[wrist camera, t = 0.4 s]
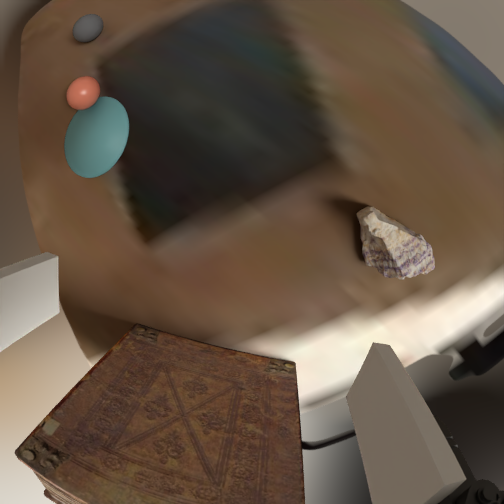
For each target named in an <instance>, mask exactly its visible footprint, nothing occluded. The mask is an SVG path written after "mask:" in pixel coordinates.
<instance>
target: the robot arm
mask: <svg viewBox="0 0 504 504" xmlns="http://www.w3.org/2000/svg"><path fill="white" fill-rule="evenodd" d="M58 313H60V309H59V288H58V256H56V255H54V254H51V253H49V252H46V253H43V254H40V255H37V256H34V257H31V258H28V259H25V260H23V261H20V262H17V263H14V264H11V265H9V266H6V267H3V268H1V269H0V352H1V351H2V350H4V349H5V348H7V347H8V346H9V345H11V344H13V343H14V342H15V341H17V340H18V339H20V338H21V337H23V336H24V335H26V334H27V333H29V332H31V331H32V330H34V329H35V328H36V327H38V326H40V325H41V324H43V323H44V322H46V321H47V320H49V319H50V318H52V317H54V316H55V315H57V314H58ZM346 398H347V402H348V406H349V409H350V413H351V417H352V420H353V424H354V428H355V432H356V436H357V440H358V444H359V448H360V451H361V456H362V460H363V463H364V468H365V473H366V477H367V481H368V486H369V490H370V495H371V499H372V504H504V491H499V489H498V488H497V487H496V486H495V484H494V483H492V482H490V481H488V480H483V479H482V480H478V481H476V479H475V478H474V476H473V474H472V472H471V470H470V468H469V466H468V464H467V462H466V461H465V458H464V456H463V455H462V453H461V451H460V449H459V448H457V444H456V442H455V440H454V439H452V435H451V433H450V431H449V430H448V428H447V426H446V425H445V424H444V423H443V422H442V421H441V420H440V419H439V418H438V417H436V416H433V415H432V413H431V411H430V410H429V408H428V407H427V404H426V403H425V401H424V399H423V398H422V396H421V394H420V393H419V391H418V389H417V388H416V386H415V384H414V383H413V381H412V380H411V378H410V376H409V375H408V373H407V371H406V370H405V368H404V367H403V365H402V363H401V362H400V360H399V359H398V357H397V356H396V354H395V352H394V351H393V349H392V348H391V346H390V345H386V344H380V343H374V342H373V344H372V346H371V348H370V350H369V353H368V355H367V357H366V359H365V361H364V363H363V365H362V367H361V369H360V371H359V373H358V375H357V377H356V379H355V381H354V383H353V385H352V387H351V389H350V391H349V392H348V394H347V396H346Z"/></svg>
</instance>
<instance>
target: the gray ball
mask: <svg viewBox="0 0 504 504" xmlns="http://www.w3.org/2000/svg"><path fill="white" fill-rule="evenodd" d="M102 28H103V21H102V19H101V18H100V17H99V16H98V15H95V14H88V15H85V16H83V17H81V18H80V19H79V20H78V21H77V22H76V23H75V25H74V27H73V36H74V38H75V39H76V40H78V41H80V42H88V41H91V40H93V39H95V38H96V37H97V36H98V35H99V34H100V33H101V31H102Z"/></svg>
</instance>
